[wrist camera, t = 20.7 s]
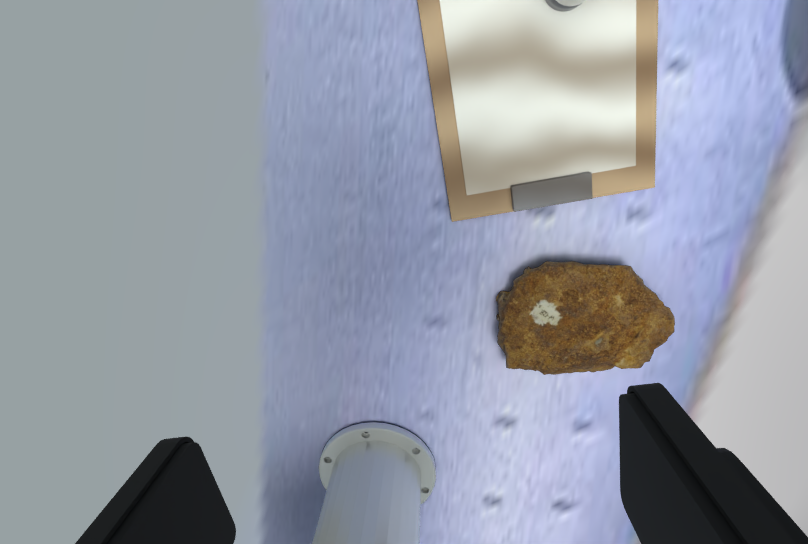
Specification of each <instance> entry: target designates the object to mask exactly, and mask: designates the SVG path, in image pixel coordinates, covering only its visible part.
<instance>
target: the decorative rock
mask: <svg viewBox="0 0 808 544" xmlns="http://www.w3.org/2000/svg"><path fill="white" fill-rule="evenodd" d="M513 283H514V286H513V288H512V289H511V291H510V292H506V291H500V292H499V294H498V295H497V297H496V301H497V302H498V311H499V314H497V320H498V321H499V332H498V335H497V337H498V345H499V346H500V347H501V348H502V350H503V352H504V353H505V355H506V368H511V369H519V368H520V369H524V370H534V371H537V370H538V371H540V372H541V373H543V374H544V375H546V374H553V375H555V374H561V373H573V372H587V371H590V372H596V371H604V370H608V369H612V368H613V367H614V366H616V367H619V368H621V369H625V368H641V367H642V366H643V364H644V363H645V362H649V361H650V359H651V356H652V354H653V352H654V349H655V348H657V347H659V346H660V345H662V344H663V343H665V342H666V341H667V339H668V337H669V336H670V335H671V334H672V333H674V325H675V320H674V316H673V314H672V312H671V310H670V308H668V307H666V306H664V304H663V302H662V301H661V300H659V298H658V297H657V295H656V294H655V293H654V292H652V291H651V290H650V289H649V288H647V287H646V286H645V285H644V283H643V280H642V279H641V278H640V277H639V276H638V275H636V274H635V272H634V271H633V269H632V267H631V266H625V265H606V264H601V265H592V264H588V265H584V264H582V263H578V262H575V261H570V262H549V261H546V262H545V263H543V264H542V265H541V266H539V267H537V268H534V269H531V268H530V267H529V266H528V268H527V269H526V268H525V270H524V274H523V275H521V276H520V277H518V278H516V279H515V280H514V281H513Z"/></svg>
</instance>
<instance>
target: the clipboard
mask: <svg viewBox="0 0 808 544" xmlns="http://www.w3.org/2000/svg"><path fill="white" fill-rule="evenodd" d="M417 1H418V7H419V14H420V20H421V27H422V33H423V39H424V46H425V52H426V59H427V65H428V72H429V78H430V84H431V91H432V97H433V104H434V110H435V117H436V123H437V129H438V136H439V142H440V149H441V155H442V162H443V168H444V174H445V181H446V187H447V194H448V200H449V207H450V213H451V219H452V222H453V221H459V220H465V219H471V218H477V217H483V216H489V215H495V214H501V213H507V212H513V211H514V212H516V211H521V210H527V209H533V208H539V207H545V206H551V205H557V204H563V203H569V202H575V201H581V200H586V199H592V198H595V197H601V196H607V195H613V194H619V193H625V192H631V191H636V190H642V189H648V188H654V187H655V145H656V91H657V36H658V0H586V1H585V2H583V3H582V4H580V5H579V6H577V7H576V8H574V9H572V10H570V11H564V12H563V11H557V10H554V9H553V8H551V7H550V6H549V5H548V4H547V3H546V1H545V0H417Z"/></svg>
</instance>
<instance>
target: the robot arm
mask: <svg viewBox="0 0 808 544" xmlns="http://www.w3.org/2000/svg"><path fill="white" fill-rule="evenodd" d="M619 429H620V491H621V498H622V502H623V505H624V508H625V511H626V513H627V515H628V517H629V519H630V521H631V523H632V525H633V527H634V529H635V531H636V534H637V536H638V538H639V540H640V542H641V544H808V537H807V536H806V535H805V534H804V533H803V531H802V530H801V529H800V528H799V527H798V526H797V524H796V523H795V522H794V521H793V520H792V519H791V518H790V516H788V514H787V513H786V512H785V511H784V510H783V509H782V507H781V506H780V505H779V504H778V503H777V502H776V501H775V500H774V498H773V497H772V496H771V495H770V494H769V493H768V492H767V490H766V489H765V488H764V487H763V486H762V485H761V484H760V483H759V481H758V480H757V479H756V478H755V477H754V476H753V475H752V473H751V472H750V471H749V470H748V469H747V468H746V467H745V465H744V464H743V463H742V462H741V461H740V460H739V459H738V458H737V457H736V456H735V455H734V454H733V453H732V452H731V451H729V450H727V449H725V448H717V449H716V448H715V447H714V445H713V444H712V443H711V442H710V441H709V440H708V438H707V437H706V436H705V435H704V434H703V432H702V431H701V430H700V429H699V428H698V426H697V425H696V424H695V423H694V422H693V420H692V419H691V418H690V417H689V416H688V414H687V413H686V412H685V411H684V410H683V409H682V407H681V406H680V405H679V404H678V403H677V401H676V400H675V399H674V398H673V397H672V395H671V394H670V393H669V392H668V391H667V389H666V388H665V387H664V386H663V385H662V384H660V383H653V384H644V385H635V386H630V387H628V390H627V394H622V395H620V397H619ZM319 475H320V479H321V482H322V484H323V486H324V488H325V489H326V494H325V498H324V502H323V505H322V509H321V513H320V516H319V520H318V524H317V527H316V531H315V535H314V538H313V542H312V544H419V536H420V505H421V504H422V503H424V502H425V501H426V500H427V498H428V497H429V496H430V494H431V493H432V490H433V488H434V486H435V480H436V466H435V462H434V458H433V456H432V454H431V452H430V450H429V449H428V447H427V446H426V445H425V443H424V442H422V441H421V440H420V439H419V438H418V437H417V436H415V435H414V434H412V433H411V432H409V431H407V430H405V429H403V428H400V427H398V426H395V425H390V424H386V423H376V422H371V423H361V424H356V425H352V426H350V427H347V428H345V429H343V430H341V431H340V432H338V433H337V434H335V435H334V436H333V437H332V438H331V439H330V440H329V441H328V442H327V444H326V446H325V447H324V449H323V452H322V455H321V458H320V463H319ZM235 535H236V528H235V524H234V521H233V519H232V517H231V515H230V513H229V510H228V508H227V506H226V503H225V501H224V499H223V497H222V495H221V492H220V490H219V488H218V485H217V483H216V481H215V479H214V476H213V474H212V472H211V470H210V467H209V465H208V463H207V461H206V458H205V456H204V454H203V452H202V449H201V447H200V446H199V444H197V443H195V442H194V441H193V440H192V439H191V438H190V437H179V438H170V439H164V440H161V441H160V442H159V443H158V444H157V445H156V446H155V447H154V448H153V450H152V451H151V452H150V453H149V454H148V456H147V457H146V458H145V459H144V461H143V462H142V463H141V464H140V465H139V467H138V468H137V469H136V470H135V472H134V473H133V474H132V475H131V477H130V478H129V479H128V480H127V481H126V483H125V484H124V485H123V486H122V487H121V488H120V490H119V491H118V492H117V493H116V495H115V496H114V497H113V498H112V499H111V501H110V502H109V503H108V504H107V506H106V507H105V508H104V509H103V510H102V512H101V513H100V514H99V515H98V517H97V518H96V519H95V520H94V521H93V523H92V524H91V525H90V526H89V527H88V529H87V530H86V531H85V532H84V534H83V535H82V536H81V537H80V539H79V540H78V541H77V542H76V543H75V544H233V543H234V540H235Z"/></svg>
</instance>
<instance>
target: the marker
mask: <svg viewBox="0 0 808 544" xmlns="http://www.w3.org/2000/svg"><path fill="white" fill-rule="evenodd" d="M545 1H546V3H547V4H548V5H549V6H550V7H551V8H553V9H554V10H557V11H563V12H564V11H570V10H572V9H574V8H576V7H577V6H579V5H580V4H582V3H583V2H585V1H586V0H545Z"/></svg>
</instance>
